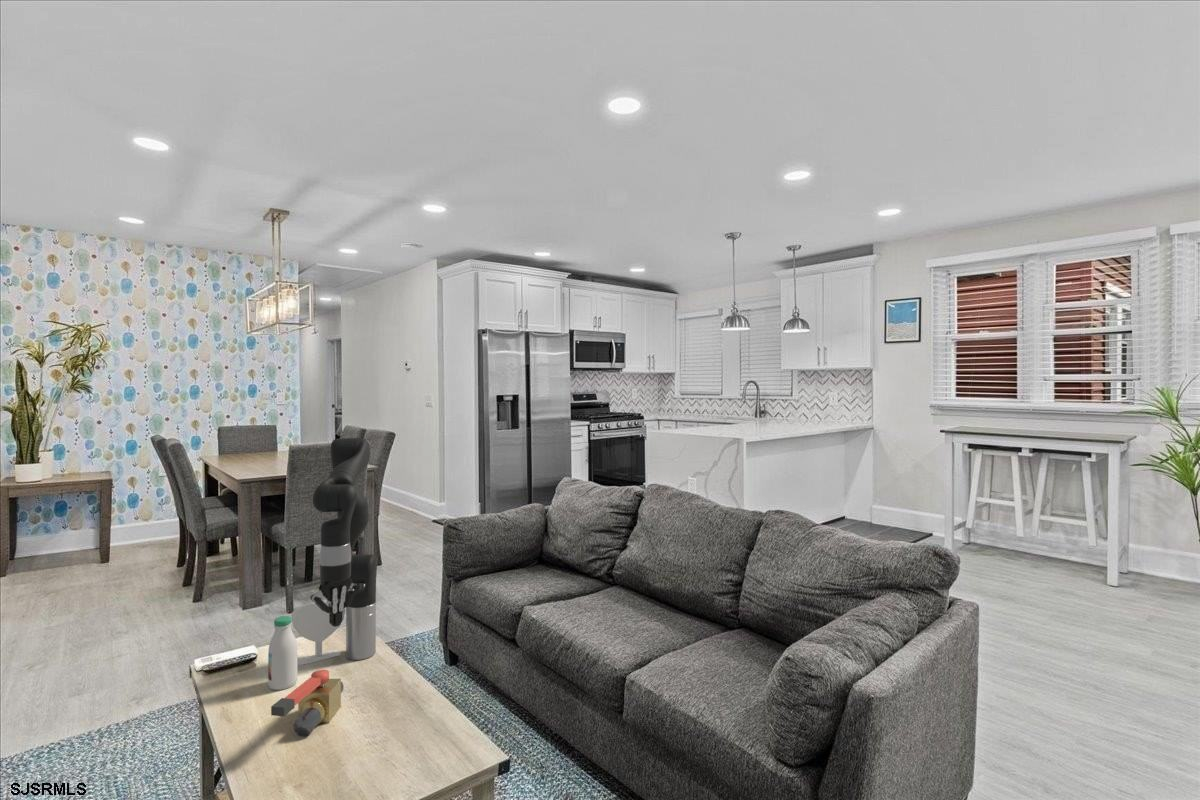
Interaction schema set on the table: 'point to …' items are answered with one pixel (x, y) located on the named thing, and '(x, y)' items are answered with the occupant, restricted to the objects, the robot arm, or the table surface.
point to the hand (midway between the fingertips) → (335, 625)
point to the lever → (299, 693)
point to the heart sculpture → (314, 629)
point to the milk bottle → (282, 655)
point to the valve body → (318, 706)
